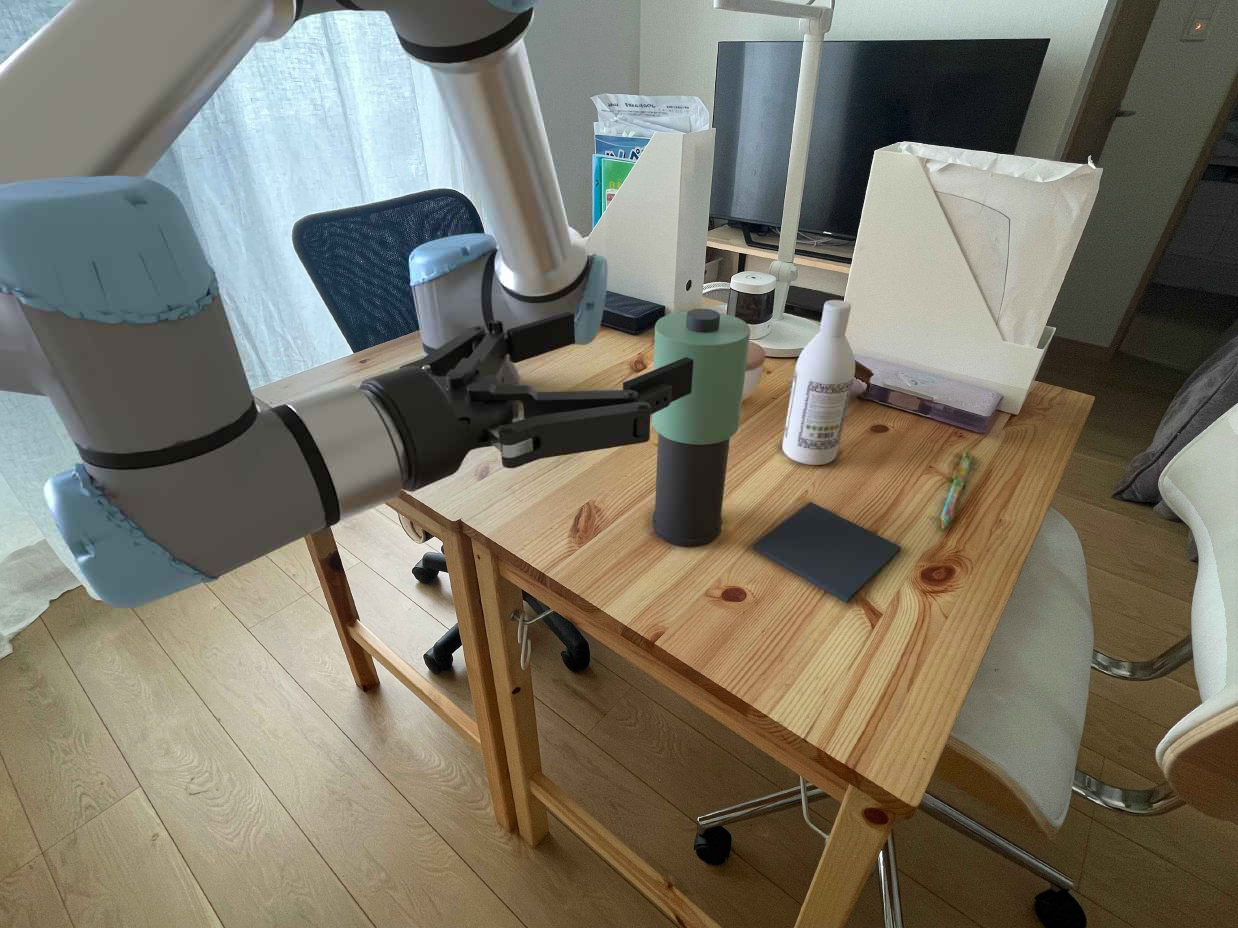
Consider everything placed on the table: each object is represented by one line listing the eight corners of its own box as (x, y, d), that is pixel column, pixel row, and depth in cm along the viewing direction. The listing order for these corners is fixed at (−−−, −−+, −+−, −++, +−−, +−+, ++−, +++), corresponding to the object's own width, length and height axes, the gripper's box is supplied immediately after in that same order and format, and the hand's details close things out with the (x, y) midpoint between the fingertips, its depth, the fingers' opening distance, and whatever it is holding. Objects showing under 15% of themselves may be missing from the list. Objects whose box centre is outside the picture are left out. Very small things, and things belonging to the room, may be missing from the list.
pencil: (947, 535, 69) (972, 460, 81) (950, 527, 68) (975, 452, 81) (934, 531, 69) (961, 457, 82) (937, 523, 69) (964, 449, 81)
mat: (752, 548, 67) (752, 544, 66) (809, 505, 73) (810, 501, 73) (846, 603, 60) (848, 599, 60) (900, 551, 66) (901, 546, 66)
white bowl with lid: (755, 384, 100) (763, 327, 95) (762, 416, 91) (770, 355, 86) (688, 380, 101) (692, 324, 96) (687, 412, 92) (691, 352, 87)
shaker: (641, 514, 72) (644, 413, 64) (699, 498, 74) (708, 399, 67) (672, 555, 66) (679, 449, 59) (734, 536, 68) (748, 432, 61)
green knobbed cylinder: (637, 411, 65) (639, 305, 59) (710, 396, 68) (719, 294, 61) (677, 452, 58) (684, 337, 52) (755, 434, 61) (771, 323, 55)
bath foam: (847, 459, 81) (883, 308, 70) (805, 472, 79) (835, 318, 68) (811, 434, 87) (840, 291, 76) (770, 446, 84) (794, 299, 73)
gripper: (315, 421, 49) (535, 349, 61) (501, 587, 34) (744, 446, 46) (288, 329, 45) (529, 271, 57) (486, 469, 29) (756, 349, 42)
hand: (626, 349), depth 51 cm, fingers open, 13 cm apart
